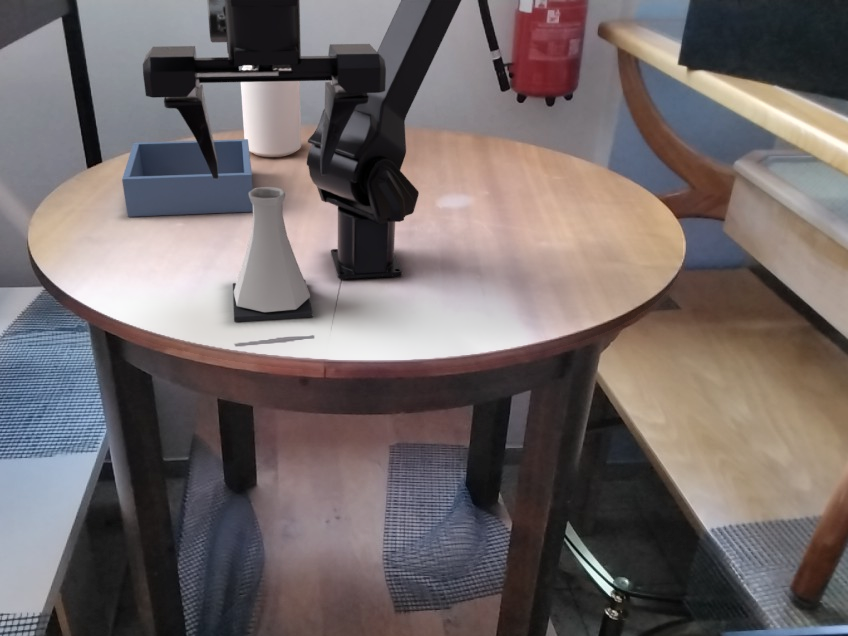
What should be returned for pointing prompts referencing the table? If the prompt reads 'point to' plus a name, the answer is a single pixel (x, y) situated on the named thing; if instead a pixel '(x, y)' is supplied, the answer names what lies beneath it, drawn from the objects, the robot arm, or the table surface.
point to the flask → (269, 259)
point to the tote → (187, 179)
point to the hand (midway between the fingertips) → (270, 175)
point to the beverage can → (271, 116)
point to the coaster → (254, 315)
